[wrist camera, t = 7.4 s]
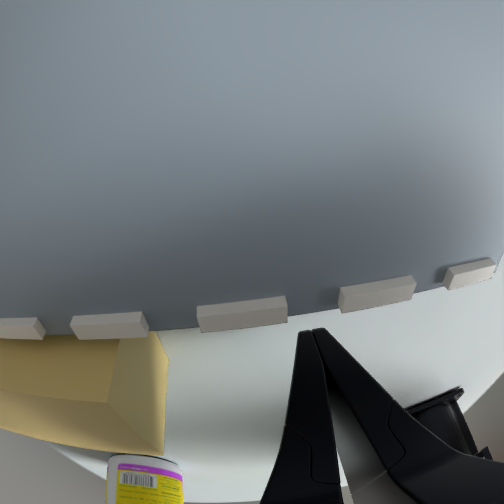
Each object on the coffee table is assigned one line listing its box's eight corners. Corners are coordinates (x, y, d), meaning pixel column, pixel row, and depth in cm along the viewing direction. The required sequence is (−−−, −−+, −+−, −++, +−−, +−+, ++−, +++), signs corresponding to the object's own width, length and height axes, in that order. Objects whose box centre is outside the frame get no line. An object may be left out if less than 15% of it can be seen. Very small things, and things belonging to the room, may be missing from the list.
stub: (134, 282, 9) (107, 402, 5) (169, 359, 11) (163, 455, 8) (-25, 297, 8) (-64, 371, 5) (20, 358, 11) (-2, 427, 7)
